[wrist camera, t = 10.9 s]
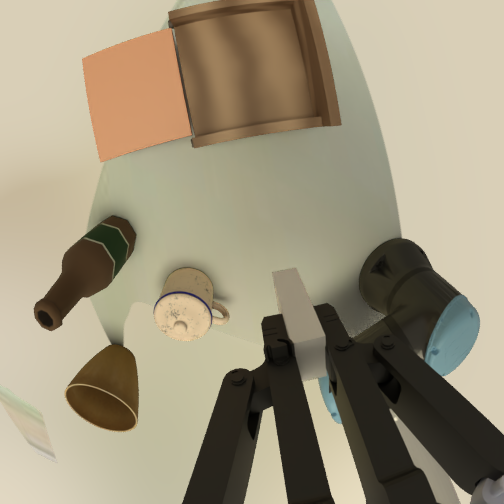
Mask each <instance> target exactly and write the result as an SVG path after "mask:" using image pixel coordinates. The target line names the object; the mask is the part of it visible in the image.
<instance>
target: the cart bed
mask: <svg viewBox="0 0 504 504" xmlns="http://www.w3.org/2000/svg"><path fill="white" fill-rule="evenodd" d="M168 14H169V21H168V24H169V28H171V29H174V30H175V36H176V41H177V47H178V52H179V58H180V63H181V69H182V74H183V79H184V84H185V89H186V94H187V99H188V104H189V109H190V114H191V119H192V124H193V129H194V133H195V138H192V139H191V143H192V147H194V148H198V147H202V146H207V145H211V144H216V143H220V142H225V141H230V140H235V139H240V138H246V137H251V136H257V135H263V134H269V133H275V132H282V131H289V130H296V129H304V128H313V127H322V126H339V125H341V119H340V113H339V107H338V101H337V95H336V90H335V85H334V79H333V74H332V70H331V65H330V60H329V56H328V51H327V47H326V43H325V39H324V35H323V31H322V27H321V23H320V20H319V16H318V12H317V9H316V5H315V2H314V0H219V1H213V2H208V3H203V4H198V5H194V6H189V7H185V8H181V9H177V10H173V11H170V12H168Z"/></svg>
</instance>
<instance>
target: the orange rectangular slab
mask: <svg viewBox="0 0 504 504" xmlns="http://www.w3.org/2000/svg"><path fill="white" fill-rule="evenodd" d="M82 61H83V70H84V78H85V85H86V92H87V98H88V104H89V110H90V115H91V121H92V126H93V131H94V135H95V140H96V144H97V149H98V153H99V158H100V162H104V161H106V160H109V159H112V158H115V157H118V156H121V155H124V154H127V153H130V152H133V151H137V150H140V149H143V148H147V147H150V146H153V145H157V144H161V143H164V142H168V141H172V140H175V139H179V138H183V137H187V136H191V135H192V131H191V126H190V122H189V117H188V112H187V107H186V102H185V97H184V92H183V87H182V82H181V76H180V71H179V66H178V61H177V55H176V50H175V44H174V38H173V33H172V29H171V28H168V29H165V30H161V31H157V32H154V33H150V34H147V35H144V36H140V37H138V38H134V39H131V40H128V41H126V42H122V43H120V44H117V45H115V46H112V47H109V48H107V49H104V50H102V51H99V52H97V53H94V54H92V55H90V56H87V57H85V58H83V59H82Z"/></svg>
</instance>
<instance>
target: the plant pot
mask: <svg viewBox="0 0 504 504" xmlns="http://www.w3.org/2000/svg"><path fill="white" fill-rule="evenodd" d="M138 391H139V389H138V376H137V367H136V361H135V357H134V355H133V354H132V352H131V351H130V350H128V349H127V348H125V347H123V346H121V345H116V344H113V345H109V346H108V347H106V348H104V349H103V350H102V351H100V352H99V353H98V354H96V355H95V356H94V357H93V358H92V359H91V360H90V361H89V362H88V363H87V364H86V365H85V366H84V367H83V368H82V369H81V370H80V371H79V372H78V374H77V375H76V376H75V377H74V379H73V380H72V381H71V383H70V384H69V385H68V387H67V388H66V390H65V398H66V401H67V403H68V404H69V406H70V407H71V408H72V410H73V411H75V413H77V414H78V415H79V416H80V417H81V418H83V419H84V420H86V421H87V422H89V423H90V424H92V425H94V426H97V427H99V428H102V429H105V430H109V431H114V432H126V431H130V430H132V429H134V428H135V427H136V426H137V422H138V404H139V397H138V396H139V393H138Z"/></svg>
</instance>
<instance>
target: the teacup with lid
mask: <svg viewBox="0 0 504 504" xmlns="http://www.w3.org/2000/svg"><path fill="white" fill-rule="evenodd" d="M212 300H213V286H212V283H211V281H210V280H209V278H208V277H207V276H206V275H205V274H204V273H202V272H201V271H199V270H196V269H192V268H182V269H178V270H176V271H174V272H173V273H171V274H170V275H169V277H168V278H167V280H166V282H165V285H164V288H163V290H162V293H161V295H160V298H159V300H158V301H157V302H156V304H155V307H154V319H155V322H156V324H157V326H158V327H159V329H160V330H161V331H162V332H163V333H164V334H166V335H167V336H169V337H171V338H173V339H176V340H180V341H192V340H195V339H198V338H200V337H202V336H203V335H205V334H206V332H207V331H208V330H209V329H210V327H211V324H212V323H213V324H217V325H224V324H226V323H227V322H228V320H229V317H230V316H229V312H228V310H227V309H226V308H225V307H224V306H223V305H221V304H219V303H217V302H214V301H212ZM212 308H213V309H216V310H218V311H219V312H221V313H222V315H223V316H224V318H218V317H215V316H212V313H211V311H212Z"/></svg>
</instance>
